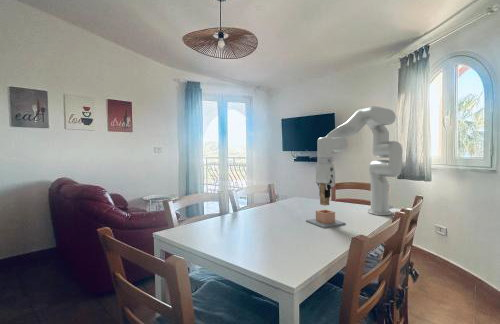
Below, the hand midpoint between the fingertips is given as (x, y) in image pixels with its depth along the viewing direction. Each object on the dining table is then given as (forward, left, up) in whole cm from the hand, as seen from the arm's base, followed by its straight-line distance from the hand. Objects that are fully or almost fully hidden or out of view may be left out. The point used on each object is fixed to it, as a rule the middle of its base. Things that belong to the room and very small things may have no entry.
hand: (324, 196), depth 135 cm
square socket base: (0, 0, -14) cm, 14 cm away
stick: (0, 0, -4) cm, 4 cm away
